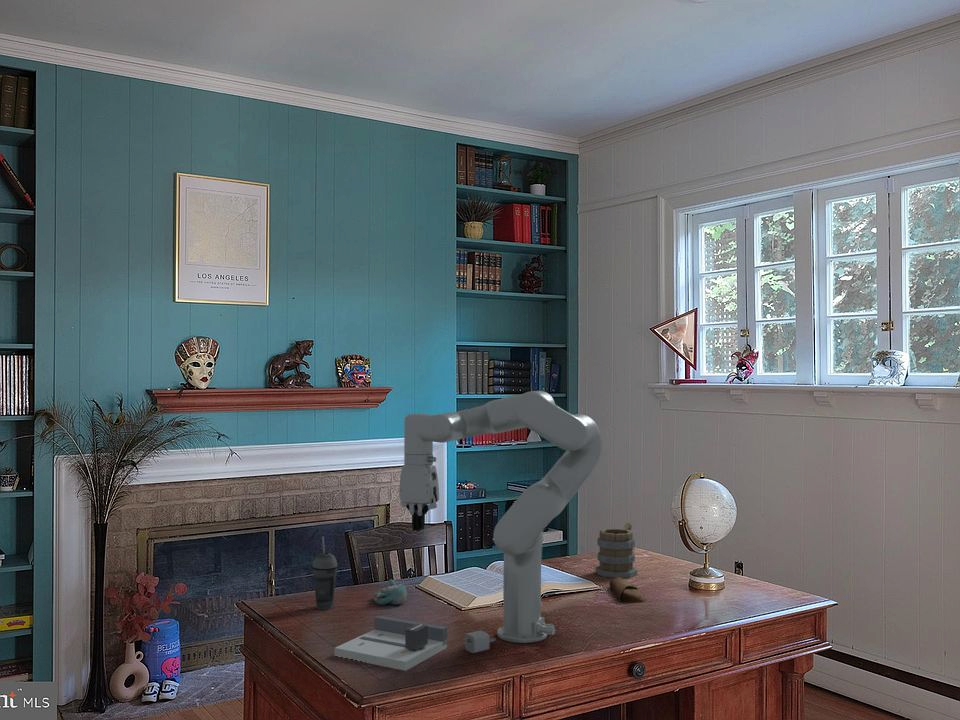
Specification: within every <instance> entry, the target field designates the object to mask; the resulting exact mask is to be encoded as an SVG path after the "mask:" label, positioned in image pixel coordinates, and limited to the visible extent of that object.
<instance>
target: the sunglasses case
mask: <svg viewBox="0 0 960 720" xmlns="http://www.w3.org/2000/svg"><path fill="white" fill-rule="evenodd" d="M609 587H610V588H611V589H612V590H613V592H614V594H615V595H616V597H617V599H618V600H619V601H620V603H621V604H622V603H624V604H626V603H628V604H629V603H647V600H646V598H645V597H644V595H643V593H642V591H640V589H639V587H638V586H637V585H635V584H634V583H632V582H630V581H628V580H627V579H626V578H620V577H613V578H611V579H610V581H609Z"/></svg>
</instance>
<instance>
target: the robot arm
mask: <svg viewBox="0 0 960 720" xmlns="http://www.w3.org/2000/svg"><path fill="white" fill-rule="evenodd" d="M403 424H404V426H403V427H404V428H403V429H404V431H403V435H404V436H403V438H404V439H403V440H404V442H403V444H404V445H403V450H404V451H403V452H404V453H403V455H404V456H403V459H404V461H403V463H404V464H403V465H402V466H401V470H400V471H401V472H400V477H399V491H398V493H399V500H400V506H401V507H403V508H406V509H407V510H408V511H409V514H410V516H411V527H412V531H417V532H420V531H423V530H424V529H425V525H426V521H425V520H426V518H425V517H426V515H427V513H428V512H429V511H430V510H433V509H436V508H438V504H437V502H439V500H440V486H439V477H438V471H437V467H436V465H433V464H434V463H436V462H437V457H436V456H434V453H433V452H434V450H433V449H434V448H433V447H434V446H433V445H434V443H440V444H444V443H449V442H453V441H457V440H462V439H467V438H471V437H476V436H480V435H485V434H494V435H495V434H502V433H505V432H511V431H515V430H520V429H524V428H528V429H529V430H530V431H532V432H533V433H535V434H537V435H538V436H540V437H542V438H543V439H545V440H546V441H548V442H550V443H551V444H552V445H554V446H556V447H557V448H559V449H561V450H564V451H565V452H564V453H563V454H562V456H561V457H560V458H559V459H558V460H557V461H556V462H555V463H554V465H553V466H552V467H551V469H550V470H549V471H548V472H547V473H546V474H545V476H543V477H542V478H541V479H540V480H539V481H537V482H535V483H533V484H532V485H530V486H528V488H526V489H524V491H523V492H522V493H521V494H520V495H519V497H518V498H517V499H516V500H515V501H514V503H513V504H512V505H511V506H510V507H509V508H508V510H506V512H505V513H504V514H503V515H502V517H501V518H500V519H499V521H498V522H497V524H495V527H494V530H493V542H494V544H495V546H496V548H497V549H498V550H499V551H500V552H501V553H503V573H502V575H503V578H502V579H503V582H502V583H503V587H502V588H503V589H502V590H503V592H502V593H503V594H502V596H503V599H502V600H503V601H502V604H503V608H502V609H503V611H502V612H503V616H502V617H503V620H502V621H503V623H502V625H503V626H500V627H499V628H498V629H497V633H496V634H497V637H498V638H499V639H500V640H503V641H506V642H510V643H516V644H517V643H518V644H528V643H537V642H541V641H543V640H545V639H547V636H548V635H549V636H550V635H551V636H555V633H556V627H555V624H551V623H546V622H545V619H546V617H544V616H542V552H543V551H542V550H543V541H544V530H545V528H547V527H548V526H549V524H550V523H551V522H552V520H554V519H555V518H556V517H557V516H559V515H560V514H561V513H562V512H563V511H564V509H565V508H566V506H567V505H568V503H569V502H570V501H571V500H572V498H573V497H574V496H575V495H576V494H577V493H578V491H579V490H580V489H581V487H582V486H583V485H584V483H586V481H587V480H588V479H589V478H590V476H591V475H592V473H593V472H594V471H595V469H596V467H597V466H598V463H599V462H600V458H601V454H602V450H603V439H602V435H601V431H600V429H599V427H598V425H597V423H596V421H595V420H593V418H591V417H590V416H588V415H587V414H581V413H576V414H572V413H569V412H568V411H566V410H564V409H563V408H561V407H560V406H558V405H557V404H556V403H555V400H554V398H553V397H552V395H551V394H550V393H548V392H546V391H544V390H533V391H532V390H531V391H527V392H524V393H521V394H517V395H512V396H508V397H503V398H499V399H493V400H490V401H488V402H487V403H485V404H482V405H480V406H476V407H471V408H468V409H463V410H457V411H453V412H452V411H451V412H443V413H438V414H432V415H431V414H429V413H409V414H407V415H406V416H405V417H404V423H403Z"/></svg>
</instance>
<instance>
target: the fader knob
mask: <svg viewBox="0 0 960 720" xmlns="http://www.w3.org/2000/svg"><path fill="white" fill-rule="evenodd" d="M427 644H428V626H427V625H422V624H415V625H413V626H411V627H409V628H407V629H405V648H406V649H411V650H418V649H420V648H422V647H423V646H425V645H427Z"/></svg>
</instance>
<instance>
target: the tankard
mask: <svg viewBox="0 0 960 720" xmlns="http://www.w3.org/2000/svg"><path fill="white" fill-rule="evenodd" d="M632 529H633V526H632V525H631V524H630V522H626V523H625V524H624V527H622V528H604V529H601V530H600V531H599V537H598V538H597V547H599V551H598V552H597V561H599V565H598V566H596V567H594V570H595V571H594V572H595V573H596V574H597V575H599V576H600V577H603V578H604V577H605V578H611V579H612V578H613V577H620V578H622V579H626V578H627V579H628V578H632V577H634V576H637V574H638V569H637V568H636V567H634V566H633V565H634V563H635V561H636V559H635V558H636V556H635V554H634V553H633V552H634V551H633V549H634V547H635V545H636V541H635V539H634V537H633V535H634V534H633V533H634V532H633V531H631V530H632Z"/></svg>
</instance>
